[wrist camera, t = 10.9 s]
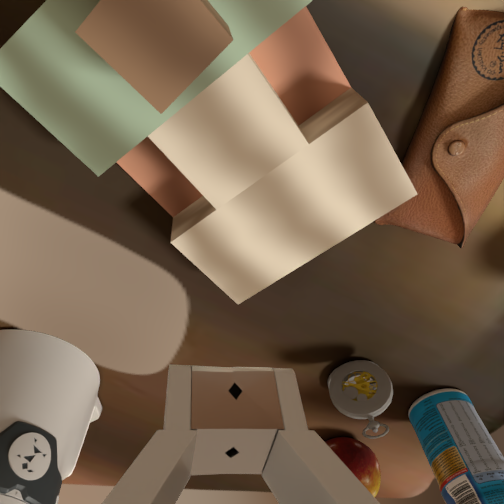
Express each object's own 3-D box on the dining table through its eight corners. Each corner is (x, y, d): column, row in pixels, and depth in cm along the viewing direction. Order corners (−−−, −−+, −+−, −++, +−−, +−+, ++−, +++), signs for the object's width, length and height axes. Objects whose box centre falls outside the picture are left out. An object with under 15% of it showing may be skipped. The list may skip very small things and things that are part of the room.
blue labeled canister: (466, 378, 53) (583, 566, 36) (469, 412, 57) (573, 591, 41) (401, 397, 54) (487, 588, 37) (409, 429, 58) (488, 610, 42)
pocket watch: (351, 398, 53) (378, 478, 45) (304, 375, 49) (324, 458, 41) (401, 362, 49) (440, 442, 41) (355, 335, 46) (388, 417, 38)
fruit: (363, 420, 56) (384, 480, 50) (374, 451, 61) (395, 509, 55) (296, 439, 57) (308, 501, 51) (313, 468, 62) (325, 527, 56)
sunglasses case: (455, -2, 27) (562, 17, 23) (504, 7, 31) (602, 25, 27) (369, 228, 37) (432, 270, 33) (413, 213, 41) (475, 249, 37)
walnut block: (167, 88, 25) (161, 114, 21) (97, 17, 22) (74, 32, 18) (228, 24, 23) (233, 40, 19) (159, -59, 21) (149, -62, 17)
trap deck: (234, 275, 39) (238, 304, 36) (8, 54, 27) (-19, 68, 23) (397, 171, 34) (417, 194, 31) (213, -158, 22) (215, -178, 18)
